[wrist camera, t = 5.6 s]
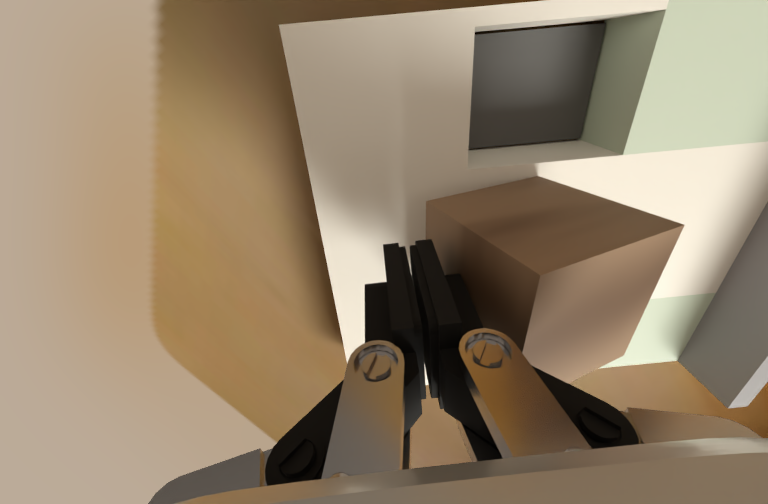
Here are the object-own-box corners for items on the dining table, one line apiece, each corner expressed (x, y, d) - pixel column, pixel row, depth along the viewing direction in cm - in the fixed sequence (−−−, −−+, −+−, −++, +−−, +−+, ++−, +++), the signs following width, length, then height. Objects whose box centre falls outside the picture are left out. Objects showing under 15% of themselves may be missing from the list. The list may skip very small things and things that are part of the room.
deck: (354, 351, 21) (350, 444, 16) (296, 32, 12) (247, 10, 7) (654, 323, 21) (747, 406, 16) (813, -15, 12) (1135, -70, 7)
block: (518, 280, 15) (623, 355, 11) (424, 312, 14) (508, 413, 10) (538, 176, 13) (685, 224, 9) (426, 201, 11) (540, 275, 7)
